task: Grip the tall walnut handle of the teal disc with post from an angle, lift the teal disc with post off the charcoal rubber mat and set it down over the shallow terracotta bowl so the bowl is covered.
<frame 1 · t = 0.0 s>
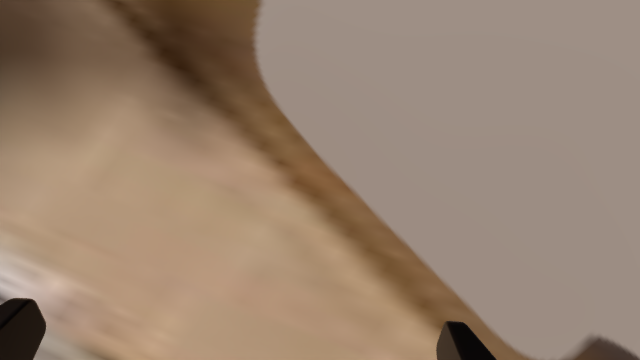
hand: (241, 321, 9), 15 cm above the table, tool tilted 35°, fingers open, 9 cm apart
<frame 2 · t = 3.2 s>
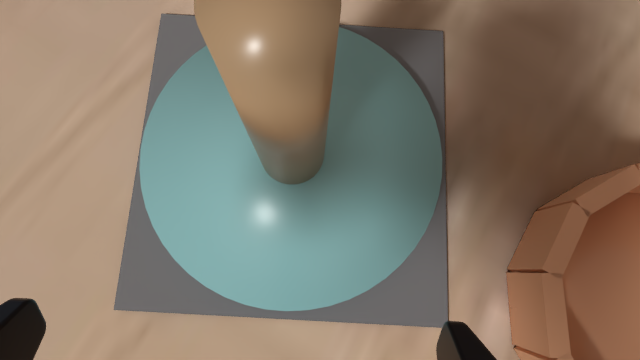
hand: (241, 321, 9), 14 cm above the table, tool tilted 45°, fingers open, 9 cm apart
mat: (293, 159, 24), on the table
teal disc with post: (293, 158, 23), resting on mat
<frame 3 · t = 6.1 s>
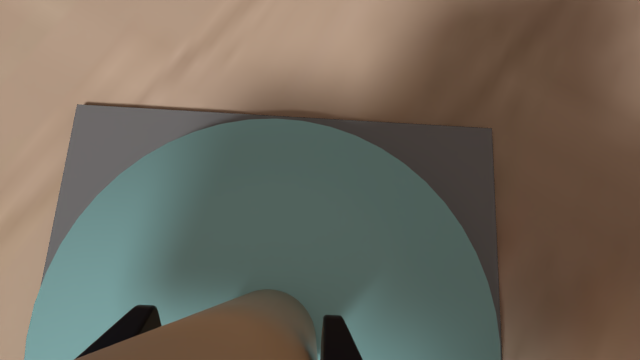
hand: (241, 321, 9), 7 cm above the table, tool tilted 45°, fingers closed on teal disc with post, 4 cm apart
mat: (269, 335, 16), on the table
teal disc with post: (268, 336, 15), resting on mat, touching gripper
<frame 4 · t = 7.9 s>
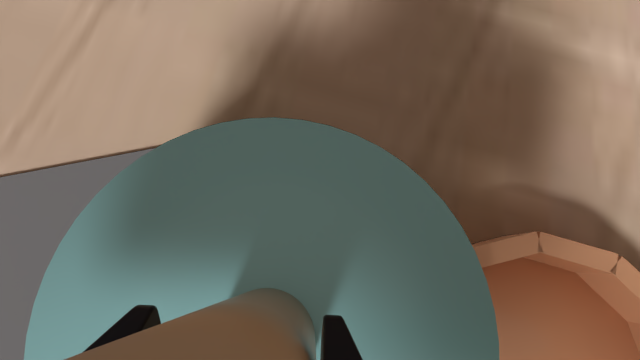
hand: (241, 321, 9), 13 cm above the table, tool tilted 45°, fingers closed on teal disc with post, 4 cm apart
mat: (117, 319, 21), on the table
teal disc with post: (268, 335, 15), point 6 cm above the table, touching gripper
when the fingers open (11 cm above the table, at t = 9.9 s): teal disc with post stays where it is, resting on bowl.
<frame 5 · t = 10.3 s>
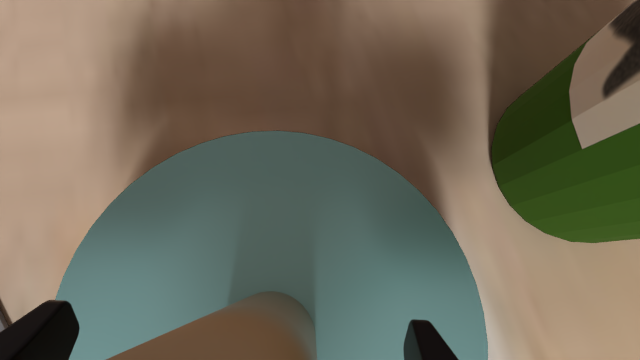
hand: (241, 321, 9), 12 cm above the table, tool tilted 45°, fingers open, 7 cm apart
wine bottle: (566, 162, 22), on the table
teal disc with post: (271, 335, 16), point 3 cm above the table, touching bowl
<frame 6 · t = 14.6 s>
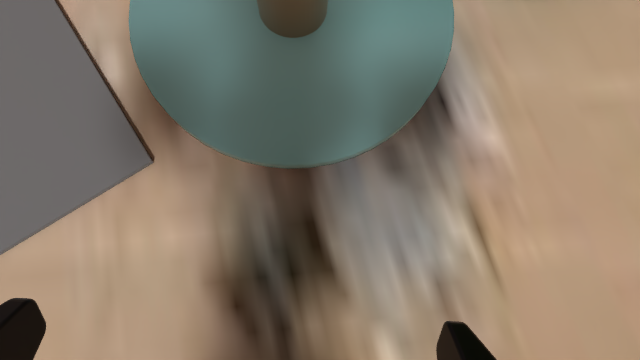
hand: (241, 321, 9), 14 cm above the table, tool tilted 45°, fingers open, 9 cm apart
teal disc with post: (293, 18, 22), point 3 cm above the table, touching bowl
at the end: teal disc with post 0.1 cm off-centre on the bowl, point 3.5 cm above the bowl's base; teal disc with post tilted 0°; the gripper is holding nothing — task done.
